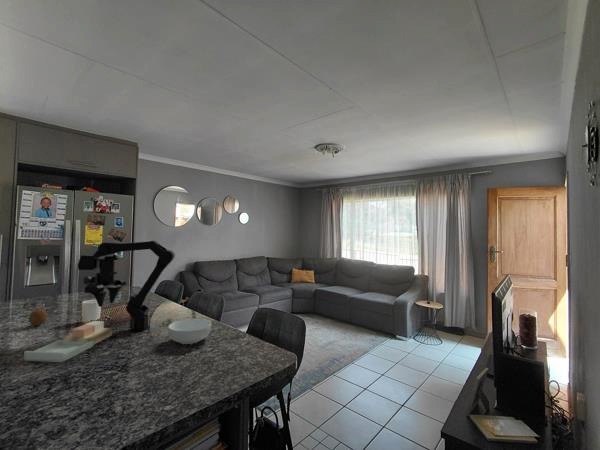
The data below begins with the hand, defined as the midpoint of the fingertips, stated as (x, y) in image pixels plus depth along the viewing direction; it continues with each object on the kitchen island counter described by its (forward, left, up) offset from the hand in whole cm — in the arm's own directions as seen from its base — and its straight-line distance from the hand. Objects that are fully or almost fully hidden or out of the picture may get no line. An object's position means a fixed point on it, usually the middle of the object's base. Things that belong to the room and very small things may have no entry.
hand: (106, 304), depth 130 cm
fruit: (+36, -3, -12) cm, 38 cm away
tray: (0, +23, -12) cm, 26 cm away
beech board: (0, +10, -12) cm, 15 cm away
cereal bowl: (-42, +7, -12) cm, 44 cm away
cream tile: (0, +7, -9) cm, 11 cm away
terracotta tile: (0, +13, -9) cm, 15 cm away
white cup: (+17, -12, -12) cm, 24 cm away
